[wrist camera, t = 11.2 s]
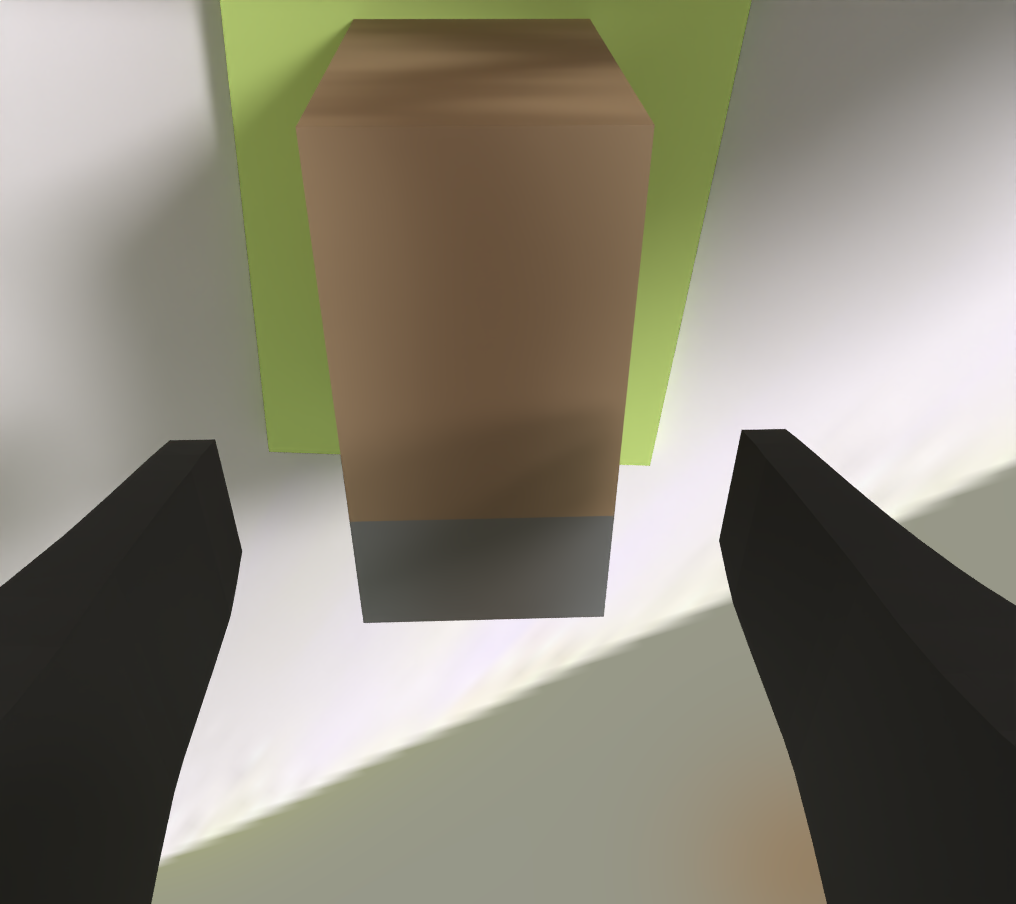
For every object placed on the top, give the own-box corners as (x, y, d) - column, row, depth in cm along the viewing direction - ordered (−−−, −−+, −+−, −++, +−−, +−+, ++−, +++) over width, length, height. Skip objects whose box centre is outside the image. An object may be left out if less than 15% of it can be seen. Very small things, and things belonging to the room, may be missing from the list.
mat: (754, -54, 16) (762, -50, 16) (645, 452, 24) (649, 465, 23) (216, -100, 16) (209, -97, 15) (273, 438, 23) (268, 451, 22)
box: (589, 18, 17) (654, 124, 11) (567, 410, 22) (603, 616, 16) (353, 19, 16) (295, 127, 11) (389, 413, 22) (363, 622, 16)
